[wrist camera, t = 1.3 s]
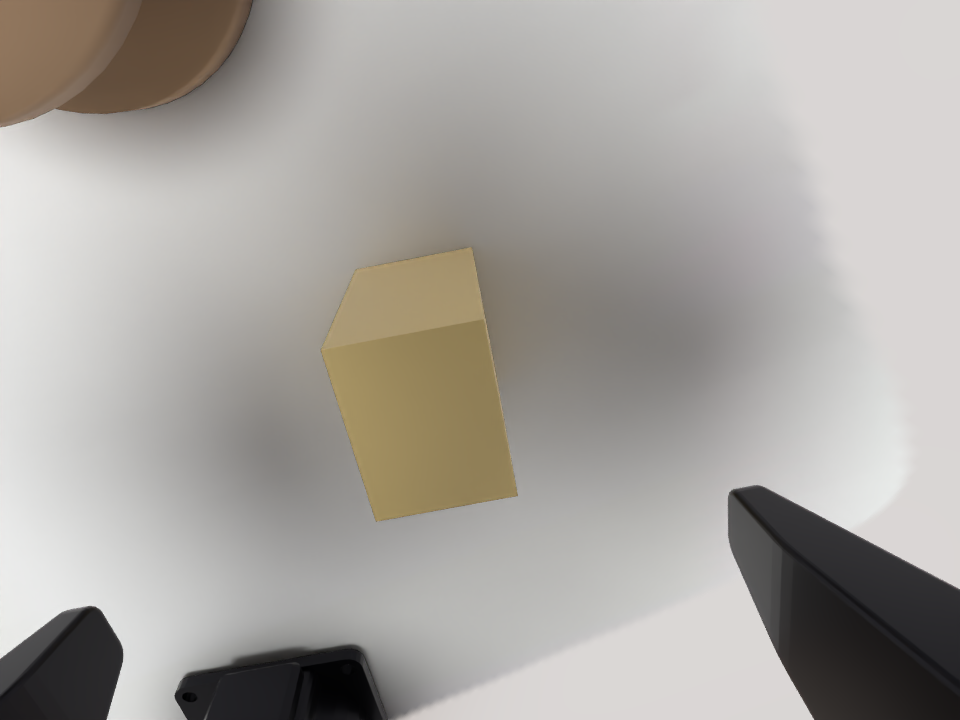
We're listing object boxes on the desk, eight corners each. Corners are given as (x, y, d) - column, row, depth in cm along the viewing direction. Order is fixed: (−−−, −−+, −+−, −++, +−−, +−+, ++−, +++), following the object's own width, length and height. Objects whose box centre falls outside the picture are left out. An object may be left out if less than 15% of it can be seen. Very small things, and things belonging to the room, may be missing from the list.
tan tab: (497, 384, 17) (517, 495, 13) (393, 404, 17) (376, 521, 13) (471, 246, 16) (483, 319, 11) (355, 269, 16) (321, 350, 11)
